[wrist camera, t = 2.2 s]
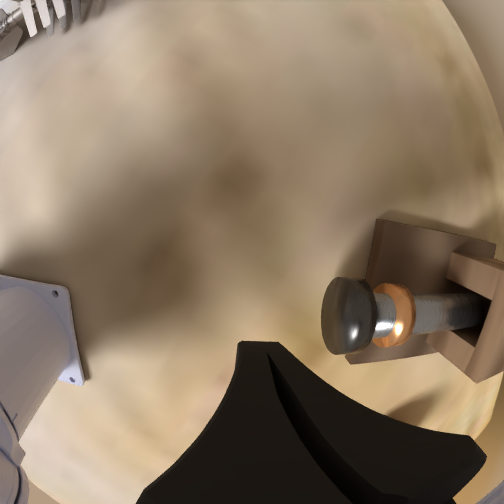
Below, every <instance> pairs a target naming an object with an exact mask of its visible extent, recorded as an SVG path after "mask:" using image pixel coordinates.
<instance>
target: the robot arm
mask: <svg viewBox="0 0 504 504" xmlns="http://www.w3.org/2000/svg"><path fill="white" fill-rule="evenodd" d="M55 291H57V292H58V295H56V293H55ZM73 378H74V379H73ZM57 380H60V381H63V382H67V383H71V384H74V385H78V386H83V385H84V383H85V378H84V374H83V370H82V365H81V361H80V356H79V352H78V347H77V341H76V336H75V330H74V324H73V317H72V310H71V302H70V294H69V291H68V289H67V288H66V287H64V286H60V285H54V284H48V283H42V282H37V281H31V280H26V279H21V278H16V277H11V276H6V275H1V274H0V504H28V500H29V482H28V478H27V475H26V473H25V471H24V469H23V468H22V466H21V465H20V464H21V462H22V460H23V458H24V456H25V454H26V453H25V451H24V450H23V449H22V448H21V446H20V445H19V443H18V442H19V440H20V438H21V437H22V435H23V433H24V431H25V430H26V428H27V426H28V425H29V423H30V421H31V420H32V418H33V416H34V415H35V413H36V412H37V410H38V408H39V407H40V405H41V404H42V402H43V401H44V399H45V397H46V396H47V394H48V393H49V391H50V390H51V388H52V387H53V385H54V384H55V382H56V381H57ZM486 458H487V456H486V454H485V453H484V452H483V451H482V449H481V448H480V447H479V446H478V445H477V444H476V442H474V440H473V439H472V438H471V437H470V436H469V435H460V434H452V433H445V432H439V431H433V430H429V429H425V428H421V427H417V426H413V425H410V424H407V423H404V422H401V421H398V420H395V419H392V418H390V417H388V416H385V415H383V414H380V413H378V412H376V411H373V410H371V409H369V408H367V407H365V406H363V405H362V404H360V403H358V402H356V401H354V400H353V399H351V398H349V397H347V396H346V395H344V394H342V393H341V392H339V391H338V390H336V389H335V388H334V387H332V386H331V385H329V384H328V383H326V382H325V381H324V380H322V379H321V378H320V377H318V376H317V375H316V374H315V373H313V372H312V371H311V370H310V369H309V368H307V367H306V366H305V365H304V364H303V363H302V362H300V361H299V360H298V359H297V358H296V357H295V356H294V355H293V354H292V353H290V352H289V351H288V350H287V349H286V348H285V347H284V346H283V345H281V344H280V343H279V342H261V341H241V342H239V343H238V345H237V354H236V363H235V371H234V374H233V377H232V379H231V382H230V384H229V386H228V389H227V391H226V393H225V395H224V397H223V399H222V401H221V403H220V405H219V406H218V408H217V410H216V412H215V413H214V415H213V416H212V418H211V419H210V421H209V422H208V424H207V425H206V427H205V428H204V429H203V431H202V432H201V433H200V435H199V436H198V437H197V439H196V440H195V441H194V442H193V443H192V444H191V446H190V447H189V448H188V449H187V450H186V451H185V452H184V453H183V454H182V455H181V457H180V458H179V459H178V460H177V461H176V462H175V463H174V464H173V465H172V466H171V467H170V468H168V469H167V470H166V471H165V472H164V473H163V474H162V475H160V476H159V477H158V478H157V479H156V480H155V481H153V482H152V483H151V484H150V485H149V486H147V487H146V488H145V489H144V490H143V492H142V493H141V495H140V497H139V499H138V500H137V502H136V504H456V502H455V501H454V500H453V497H454V496H455V495H456V494H457V493H458V492H459V491H460V490H461V489H462V488H463V487H464V486H465V485H466V484H467V483H468V482H469V481H470V480H471V479H472V478H473V477H474V476H475V475H476V474H477V473H478V472H479V471H480V469H481V468H482V466H483V465H484V463H485V461H486ZM476 504H504V480H503V481H502V482H501V483H500V484H499V485H498V486H497V487H496V488H494V489H493V490H492V491H491V492H490V493H489V494H487V495H486V496H485V497H484V498H482V499H481V500H480V501H479V502H478V503H476Z"/></svg>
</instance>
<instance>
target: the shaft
mask: <svg viewBox="0 0 504 504" xmlns="http://www.w3.org/2000/svg"><path fill="white" fill-rule="evenodd" d="M484 313H485V305H484V301H483V299H482V297H481V296H480V295H478V294H476V293H457V294H412V293H411V292H410V290H409V289H408V288H407V287H406V286H404V285H402V284H393V283H383V284H380V285H378V286H377V287H376V288H375V289H374V291H373V290H372V288H371V287H370V285H369V284H368V283H367V282H366V281H365V280H364V279H361V278H347V277H337V278H335V279H333V280H332V281H331V282H330V284H329V285H328V287H327V289H326V292H325V295H324V299H323V303H322V310H321V328H322V335H323V339H324V342H325V345H326V347H327V349H328V350H329V351H330V352H331V353H332V354H335V355H339V354H354V353H360V352H362V351H364V350H365V349H366V348H367V347H368V345H369V344H370V342H371V340H372V341H373V342H374V344H376V345H377V346H379V347H392V346H399V345H402V344H404V343H405V342H406V341H407V340H408V339H409V337H410V336H411V335H417V334H426V333H434V332H442V331H449V330H456V329H462V328H468V327H474V326H477V325H478V324H479V323H480V322H481V321H482V319H483V317H484Z"/></svg>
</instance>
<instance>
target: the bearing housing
mask: <svg viewBox="0 0 504 504" xmlns="http://www.w3.org/2000/svg"><path fill="white" fill-rule="evenodd" d="M495 249H496V244H493V243H490V242H486V241H482V240H478V239H474V238H469V237H465V236H461V235H456V234H451V233H447V232H442V231H437V230H432V229H427V228H422V227H417V226H412V225H407V224H402V223H396V222H391V221H385V220H379V219H376V226H375V232H374V238H373V244H372V249H371V255H370V260H369V265H368V270H367V274H366V279H365V281H366V282H367V283H368V284H369V285H370V287H371V288H372V290H373V291H374V289H375V288H376V287H377V286H378V285H380V284H383V283H393V284H402V285H404V286H406V287H407V288H408V289H409V290H410V292H411V293H412V294H457V293H476V294H478V295H480V296H481V297H482V299H483V301H484V305H485V313H484V317H483V319H482V321H481V322H480V323H479V324H478V325H477V326H474V327H468V328H462V329H456V330H449V331H442V332H434V333H426V334H417V335H411V336H410V337H409V339H408V340H407V341H406V342H405V343H404V344H402V345H399V346H392V347H379V346H377V345H376V344H374V342H373V341H372V340H371V342H370V344H369V345H368V347H367V348H366V349H365V350H364V351H362V352H360V353H354V354H346V355H345V358H346V359H347V361H348V362H349V363H350V364H361V363H371V362H379V361H387V360H394V359H401V358H408V357H414V356H420V355H426V354H431V353H436V352H439V353H440V354H442V355H443V356H444V357H445V358H446V359H448V360H449V361H450V362H451V363H452V364H454V365H455V366H456V367H457V368H458V369H460V370H461V371H462V372H463V373H464V374H466V375H467V376H468V377H469V378H470V379H471V380H473V381H474V382H475V383H476V384H477V383H479V382H481V381H483V380H486V379H488V378H490V377H492V376H494V375H496V374H498V373H500V372H502V371H504V262H502V261H499V260H496V259H494V254H495Z"/></svg>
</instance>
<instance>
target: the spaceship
mask: <svg viewBox="0 0 504 504" xmlns="http://www.w3.org/2000/svg"><path fill="white" fill-rule="evenodd" d="M13 1H17V5H18V4H19V3H20V5H19V8H18V9H16V10H15V11H13V12H12V13H11V14H10V13H9V15H7V14H6V13H5V12H4V10H3V9H0V60H2V59H4V58H6V57H8V56H10V55H12V54H14V52H15V49H16V47H17V45H18V42H19V40H20V38H21V36H22V34H23V30H22V29H21V27H20V26H19V25H18V24H17V23H19V22H20V21H21V20H22V19H23V18H25V21H26V25H27V28H28V31H29V34H30V37H32V36H34V35H35V34H37V29H36V25H35V21H34V16H33V14H35V13H37V12H39V15H40V18H41V21H42V24H43V27H44V28H45V27H46V28H47V37H48V38H49V37H51V36H52V35H54V8H55V11H56V14H57V17H58V18H59V24H60V30H61V29H63V28H65V27H66V26H67V1H71V4H72V13H73V21H74V22H75V21H77V20H78V19H80V18H81V6H80V0H13Z"/></svg>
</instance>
